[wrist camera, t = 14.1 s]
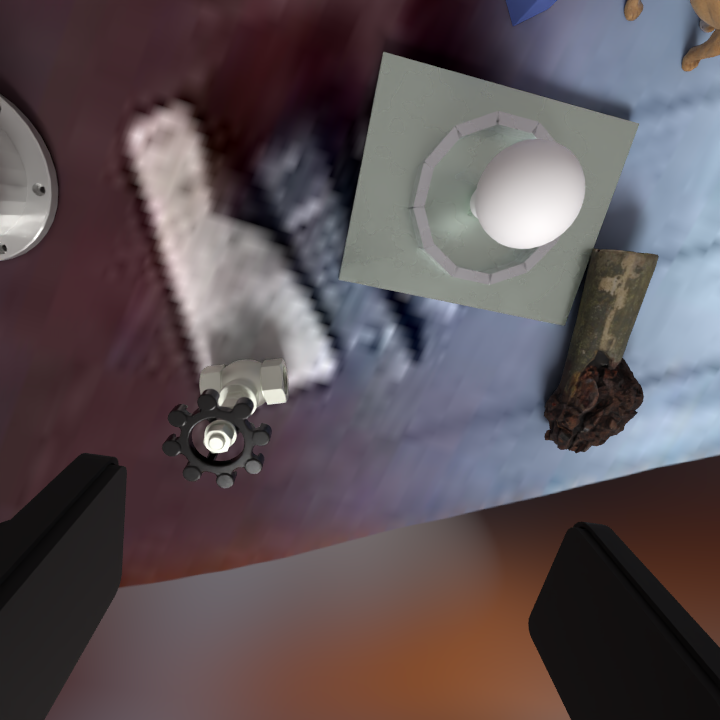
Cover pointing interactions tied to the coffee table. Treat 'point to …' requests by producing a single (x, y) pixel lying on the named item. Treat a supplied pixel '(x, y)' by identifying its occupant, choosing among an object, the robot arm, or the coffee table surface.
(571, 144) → the duct collar
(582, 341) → the brown camo elongated piece
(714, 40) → the lion figurine
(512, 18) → the walkman
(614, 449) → the coffee table surface
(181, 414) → the valve
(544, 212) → the lightbulb
